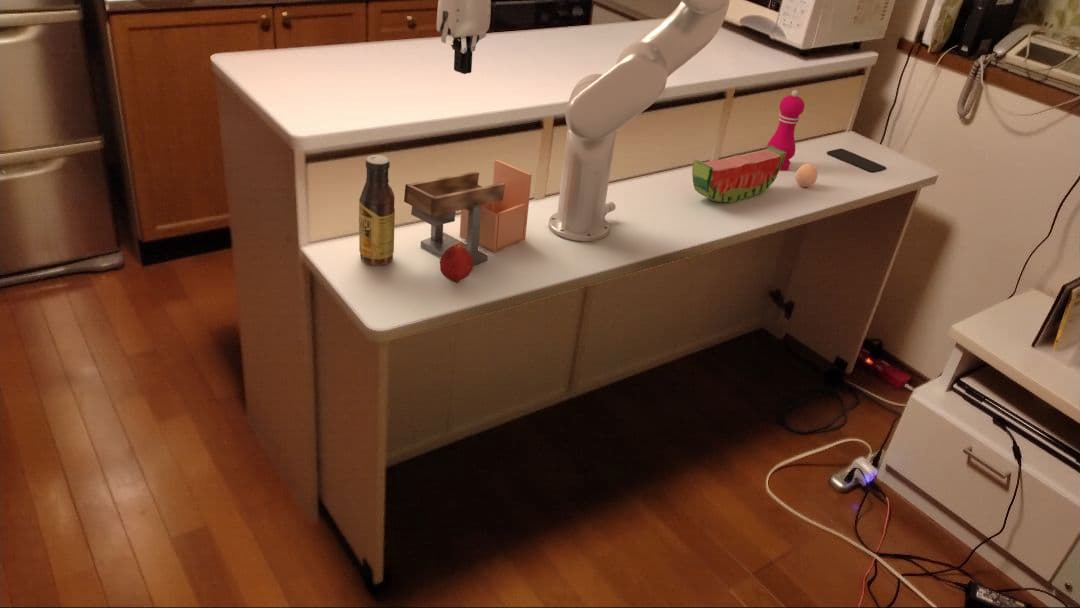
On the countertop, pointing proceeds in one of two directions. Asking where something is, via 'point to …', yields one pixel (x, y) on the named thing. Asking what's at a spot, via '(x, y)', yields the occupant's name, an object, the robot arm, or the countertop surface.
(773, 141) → the pepper mill
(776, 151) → the fruit slice
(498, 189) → the brown wooden tray
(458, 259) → the onion
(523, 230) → the cup
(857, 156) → the phone
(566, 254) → the countertop surface
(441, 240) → the stand
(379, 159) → the sauce bottle
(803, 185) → the egg
